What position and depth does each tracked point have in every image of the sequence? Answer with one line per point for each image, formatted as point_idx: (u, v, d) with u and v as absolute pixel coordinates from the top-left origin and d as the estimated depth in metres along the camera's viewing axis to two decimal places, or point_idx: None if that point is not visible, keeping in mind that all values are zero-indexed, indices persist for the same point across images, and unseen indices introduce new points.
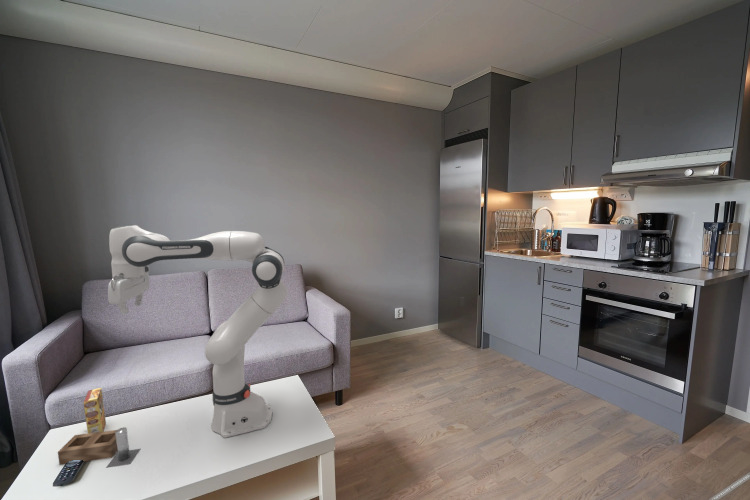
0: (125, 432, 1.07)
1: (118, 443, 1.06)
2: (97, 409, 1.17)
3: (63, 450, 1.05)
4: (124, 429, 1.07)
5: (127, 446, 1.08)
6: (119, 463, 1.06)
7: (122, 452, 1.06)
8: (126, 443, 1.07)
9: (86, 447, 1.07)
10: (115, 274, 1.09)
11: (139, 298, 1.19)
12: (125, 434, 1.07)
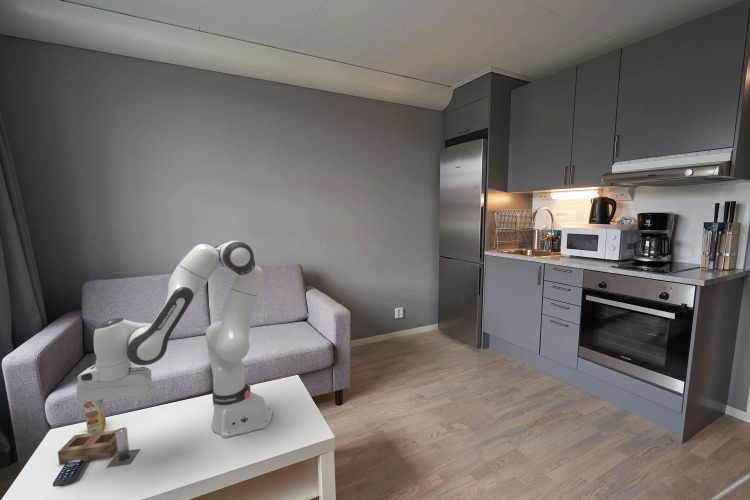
0: (125, 432, 1.07)
1: (118, 443, 1.06)
2: None
3: (63, 450, 1.05)
4: (124, 429, 1.07)
5: (127, 446, 1.08)
6: (119, 463, 1.06)
7: (122, 452, 1.06)
8: (126, 443, 1.07)
9: (86, 447, 1.07)
10: (124, 371, 1.03)
11: (99, 403, 1.05)
12: (125, 434, 1.07)
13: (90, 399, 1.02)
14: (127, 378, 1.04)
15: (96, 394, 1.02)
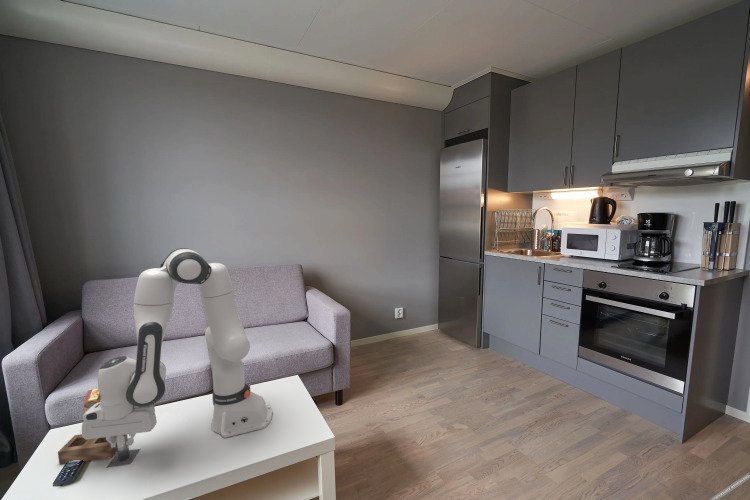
0: None
1: (118, 443, 1.06)
2: None
3: (63, 450, 1.05)
4: None
5: (127, 446, 1.08)
6: (119, 463, 1.06)
7: (122, 452, 1.06)
8: None
9: (86, 447, 1.07)
10: (128, 409, 1.05)
11: (113, 438, 1.07)
12: None
13: (95, 437, 1.04)
14: (131, 416, 1.05)
15: (101, 432, 1.04)
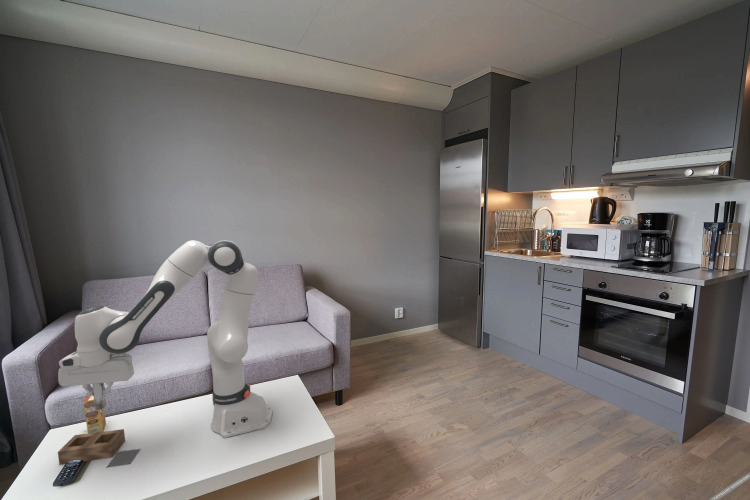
0: None
1: (95, 391, 1.07)
2: None
3: (63, 450, 1.05)
4: None
5: (104, 395, 1.09)
6: (119, 463, 1.06)
7: (99, 401, 1.07)
8: None
9: (86, 447, 1.07)
10: (105, 357, 1.06)
11: (90, 387, 1.08)
12: (102, 383, 1.08)
13: (72, 384, 1.05)
14: (107, 364, 1.06)
15: (77, 379, 1.05)
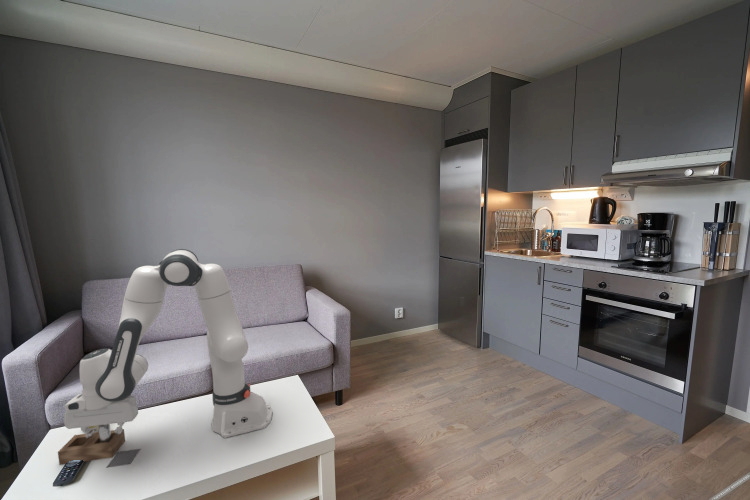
0: (108, 427, 1.10)
1: (101, 437, 1.09)
2: None
3: (63, 450, 1.05)
4: (107, 424, 1.10)
5: None
6: (119, 463, 1.06)
7: None
8: (109, 437, 1.10)
9: (86, 447, 1.07)
10: None
11: (88, 429, 1.10)
12: (108, 429, 1.10)
13: (77, 426, 1.07)
14: (112, 406, 1.08)
15: (83, 421, 1.07)
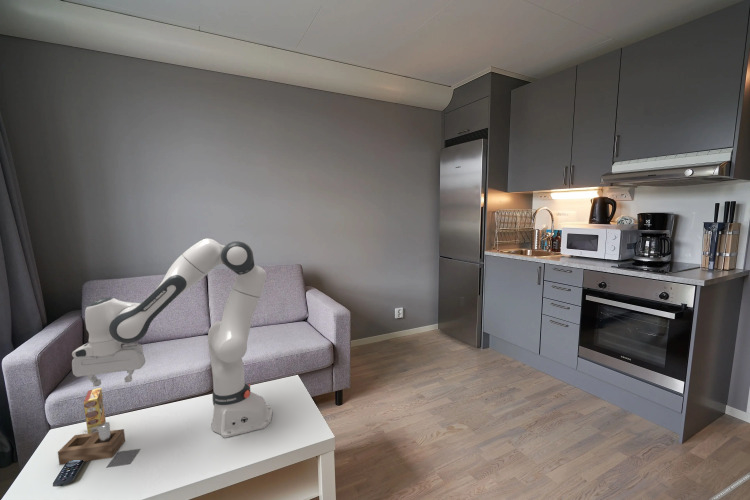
0: (107, 427, 1.10)
1: (101, 437, 1.09)
2: (97, 409, 1.17)
3: (63, 450, 1.05)
4: (107, 424, 1.10)
5: None
6: (119, 463, 1.06)
7: None
8: (108, 437, 1.10)
9: (86, 447, 1.07)
10: (117, 347, 1.08)
11: (95, 378, 1.10)
12: (107, 429, 1.10)
13: (86, 374, 1.08)
14: (119, 354, 1.09)
15: (91, 369, 1.08)
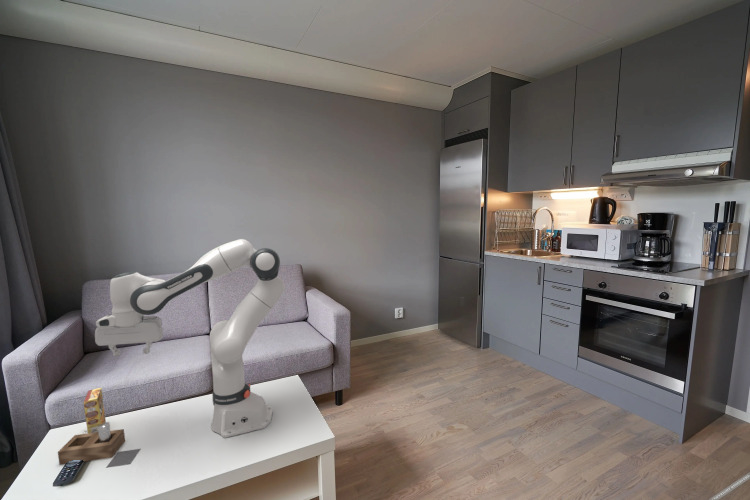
0: (107, 427, 1.10)
1: (100, 437, 1.09)
2: (97, 409, 1.17)
3: (63, 450, 1.05)
4: (107, 424, 1.10)
5: None
6: (119, 463, 1.06)
7: None
8: (108, 437, 1.10)
9: (86, 447, 1.07)
10: (138, 319, 1.14)
11: (115, 348, 1.15)
12: (107, 429, 1.10)
13: (107, 344, 1.13)
14: (140, 325, 1.14)
15: (112, 339, 1.13)
